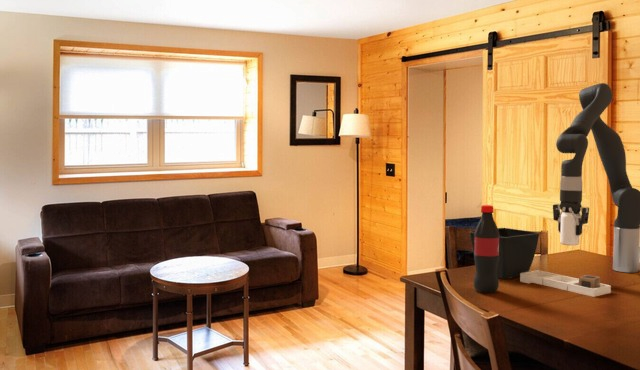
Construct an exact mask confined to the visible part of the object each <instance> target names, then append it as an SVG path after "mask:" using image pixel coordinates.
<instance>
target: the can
mask: <svg viewBox="0 0 640 370" xmlns="http://www.w3.org/2000/svg"><path fill="white" fill-rule="evenodd" d="M561 211H562V210H561ZM575 215H576V216H579V214H575ZM578 220H579V219H578ZM576 225H577V224H576V222H575V219H574V216H573V213H569V212H563V211H562V214H561V231H560V233H559V234H560V235H559V236H560V238H559V239H560V240H559V241H560V244H561V245H564V246H578V245H579V244H580V235H576Z"/></svg>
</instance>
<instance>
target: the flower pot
mask: <svg viewBox="0 0 640 370" xmlns="http://www.w3.org/2000/svg"><path fill="white" fill-rule="evenodd" d="M497 228H498V231H499V234H500V236H499V262H498V267H497V276H498V279H502V280H508V279H512V278H520V273H523V272H529V271H531V270H530V269H531V266H532V263H533V261H534V258H535V255H536V252H537V247H538V243H539V237H540V232H535V231H530V230H525V229H523V230H522V229H516V228H515V229H514V228H508V227H497ZM474 233H475V230H473V231H471V230H470V231H469V238H470V242H471V248H472V251H473V253H474V249H475V236H474Z"/></svg>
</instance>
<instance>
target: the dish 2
mask: <svg viewBox="0 0 640 370" xmlns="http://www.w3.org/2000/svg"><path fill="white" fill-rule="evenodd" d="M574 282H579V277H578V278H576V277H572V276H568V275H564V274H559V275H557V276H552V277H547V278H543V285H542V286H545V287H546V286H547V287H549V288H555V289H559V290H562V291H568V284H569V283H574Z"/></svg>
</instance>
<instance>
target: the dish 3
mask: <svg viewBox="0 0 640 370" xmlns="http://www.w3.org/2000/svg"><path fill="white" fill-rule="evenodd" d="M611 288H612V286H611V285H609V284H605V283H601V282H600V287H598V288H594V289H592V288H588V287H583V286H579V282H574V283H569V284H568V290H567V291H568V292H571V293H576V294H580V295H584V296H587V297H599V296H603V295H607V294H611V293H612V289H611Z"/></svg>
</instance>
